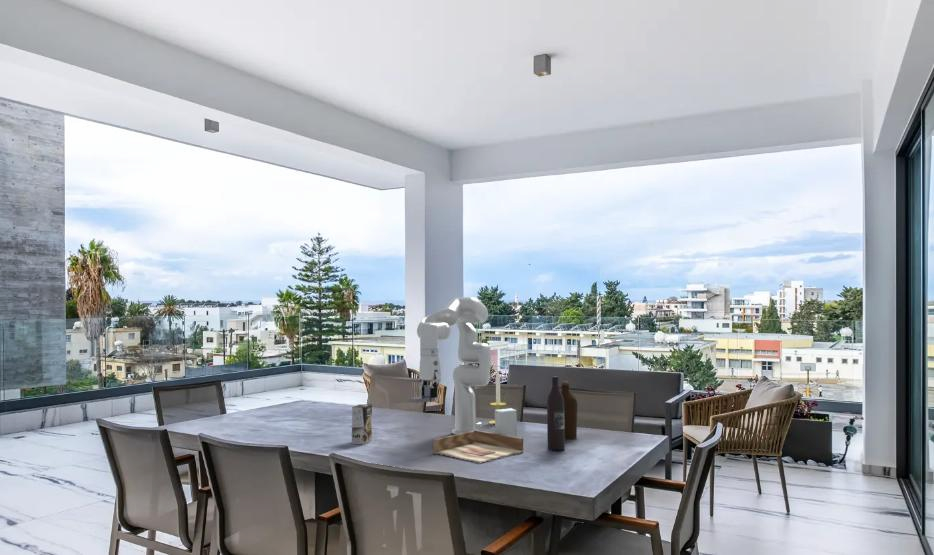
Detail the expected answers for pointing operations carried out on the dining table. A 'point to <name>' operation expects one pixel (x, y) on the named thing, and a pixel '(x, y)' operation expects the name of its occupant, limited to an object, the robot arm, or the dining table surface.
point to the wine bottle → (555, 418)
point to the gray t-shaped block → (424, 398)
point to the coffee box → (362, 424)
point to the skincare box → (506, 422)
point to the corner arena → (478, 446)
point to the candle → (497, 396)
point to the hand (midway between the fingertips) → (429, 396)
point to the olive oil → (569, 411)
